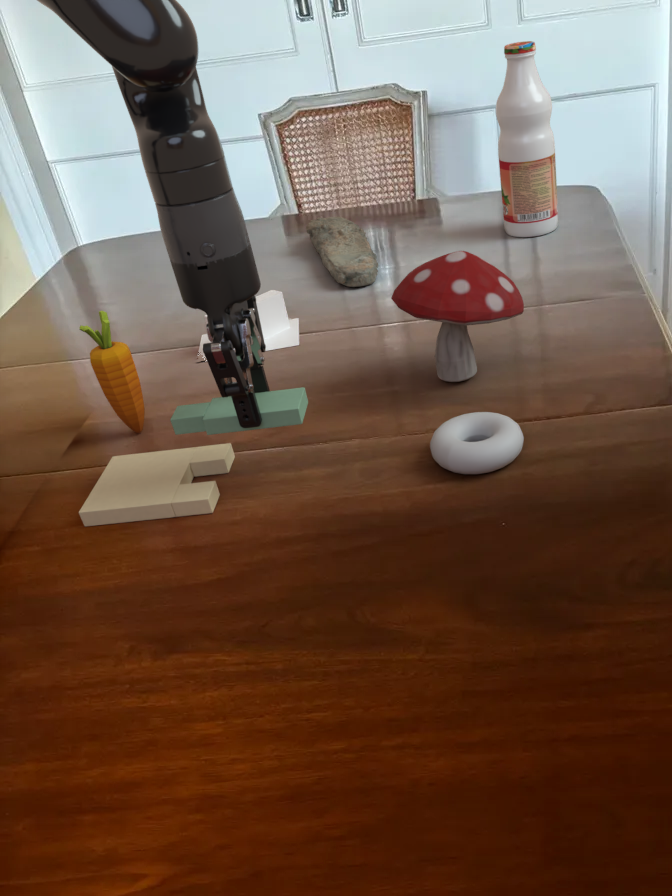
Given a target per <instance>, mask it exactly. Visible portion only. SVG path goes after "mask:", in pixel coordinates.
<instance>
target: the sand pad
mask: <svg viewBox="0 0 672 896" xmlns="http://www.w3.org/2000/svg"><path fill="white" fill-rule="evenodd" d="M235 455H236V454H235V452H234V449H233V446H232V443H231V442H229V443H228V442H227V443H220V444H219V443H218V444H211V445H203V446H202V445H200V446H194V447H193V446H192V447H185V448H183V447H182V448H176V449H167V450H166V449H165V450H158V451H157V450H156V451H149V452H139V453H138V452H137V453H132V454H131V453H130V454H121V455H113V456H112V457H111V458H110V460H109V462H108V463H107V465H106V467H105V468H104V470H103V471H102V473H101V475H100V477H99V478H98V480H97V481H96V483H95V485H94V486H93V488H92V489H91V491H90V493H89V495H88V496H87V498H86V500H85V501H84V503H83V504H82V506H81V508H80V509H79V511H78V515H79V517H80V519H81V522H82V524H83V526H84V528H85V527H94V526H95V527H96V526H103V525H113V524H123V523H132V522H141V521H150V520H151V521H152V520H161V519H170V518H178V517H188V516H197V515H199V516H200V515H208V514H213V513H214V511H215V508H216V506H217V503H218V501H219V499H220V496H221V493H220V490H219V488H218V485H217V481H216V480H208V481H201V482H193V480H194V477H195V478H196V477H203V476H204V477H205V476H213V475H214V476H215V475H222V474H223V475H224V474H229V473H230V471H231V468H232V465H233V463H234V460H235V458H236V456H235Z"/></svg>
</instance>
